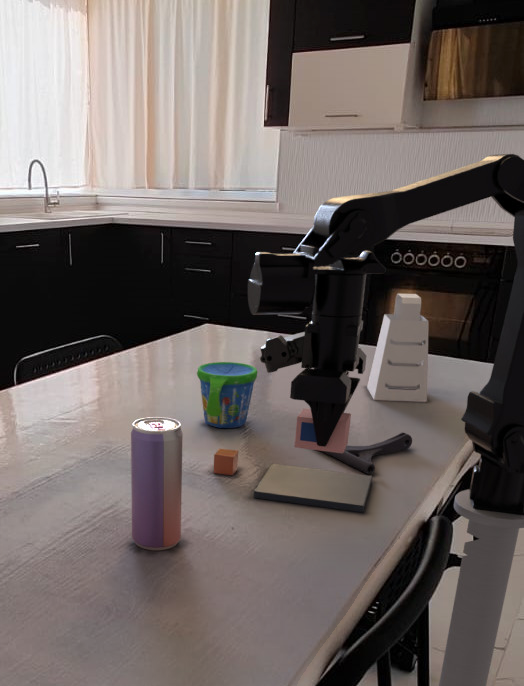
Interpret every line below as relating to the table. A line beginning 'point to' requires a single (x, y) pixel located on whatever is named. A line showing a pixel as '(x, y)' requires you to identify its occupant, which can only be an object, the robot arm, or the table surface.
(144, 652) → the table surface
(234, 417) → the snack cup
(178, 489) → the beverage can
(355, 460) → the squeegee
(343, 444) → the eraser
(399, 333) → the grater
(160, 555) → the table surface
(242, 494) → the table surface
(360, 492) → the tray
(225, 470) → the clay cube
